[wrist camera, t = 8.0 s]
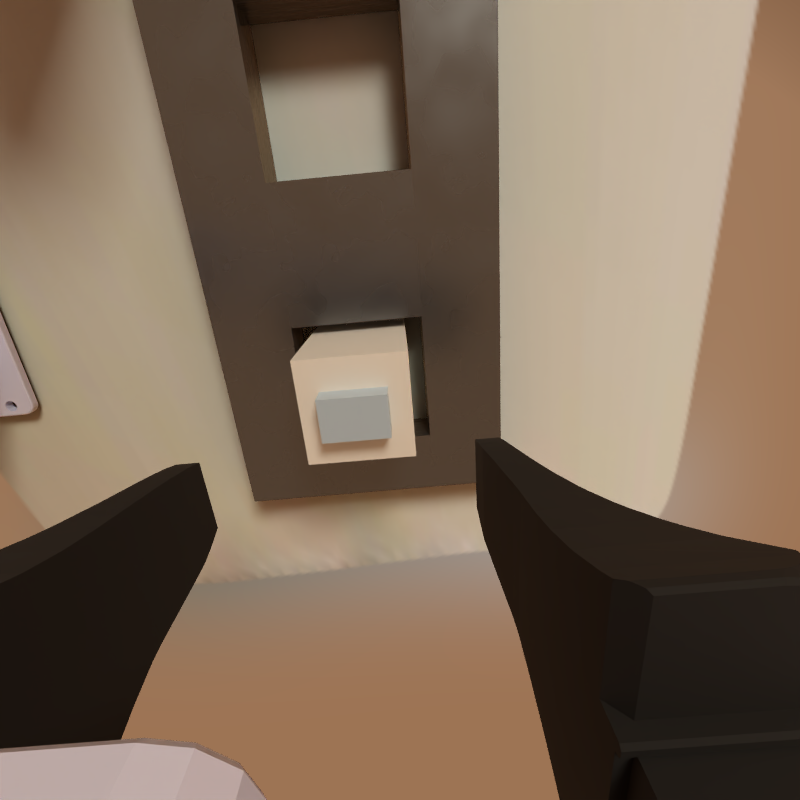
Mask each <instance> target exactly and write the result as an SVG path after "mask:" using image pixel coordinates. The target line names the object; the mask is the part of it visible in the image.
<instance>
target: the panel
mask: <svg viewBox="0 0 800 800" xmlns="http://www.w3.org/2000/svg"><path fill="white" fill-rule="evenodd" d="M133 4H134V8H135V12H136V16H137V20H138V24H139V28H140V32H141V37H142V41H143V45H144V49H145V53H146V57H147V61H148V65H149V69H150V73H151V78H152V82H153V86H154V90H155V94H156V98H157V102H158V106H159V110H160V114H161V119H162V123H163V127H164V131H165V135H166V139H167V143H168V147H169V151H170V156H171V160H172V164H173V168H174V172H175V176H176V180H177V184H178V188H179V192H180V197H181V201H182V205H183V209H184V213H185V217H186V221H187V225H188V229H189V233H190V238H191V242H192V246H193V250H194V254H195V258H196V262H197V266H198V270H199V274H200V279H201V283H202V287H203V291H204V295H205V299H206V303H207V307H208V311H209V315H210V320H211V324H212V328H213V332H214V336H215V340H216V344H217V348H218V352H219V356H220V361H221V365H222V369H223V373H224V377H225V381H226V385H227V389H228V393H229V397H230V402H231V406H232V410H233V414H234V418H235V422H236V426H237V430H238V434H239V438H240V443H241V447H242V451H243V455H244V459H245V463H246V467H247V471H248V475H249V480H250V484H251V488H252V492H253V496H254V500H255V501H266V500H278V499H290V498H301V497H313V496H325V495H337V494H349V493H361V492H372V491H384V490H396V489H408V488H420V487H432V486H443V485H455V484H467V483H476V458H475V439H486V438H497V437H499V438H501V431H500V274H499V117H498V0H133ZM391 10H398V22H399V36H400V50H401V64H402V78H403V92H404V106H405V120H406V133H407V147H408V161H409V169H404V170H394V171H384V172H373V173H363V174H353V175H342V176H332V177H322V178H311V179H301V180H291V181H280V182H277V179H276V173H275V167H274V161H273V155H272V149H271V144H270V138H269V132H268V126H267V120H266V114H265V108H264V102H263V97H262V91H261V85H260V79H259V73H258V67H257V61H256V55H255V49H254V44H253V38H252V32H251V26H250V25H255V24H265V23H274V22H284V21H294V20H303V19H313V18H323V17H332V16H342V15H352V14H361V13H371V12H381V11H391ZM409 317H420V328H421V342H422V356H423V370H424V384H425V398H426V411H427V418H422V419H413V420H414V433H415V445H416V456H411V457H399V458H386V459H374V460H362V461H350V462H338V463H326V464H313V465H309V463H308V458H307V452H306V447H305V441H304V436H303V430H302V425H301V419H300V414H299V408H298V403H297V397H296V391H295V386H294V380H293V375H292V369H291V364H290V360H291V359H292V358H293V357H294V355H295V354H296V353H297V352H298V350H299V349H300V348H301V347H302V345H303V344H304V338H303V332H302V327H310V326H321V325H332V324H343V323H354V322H365V321H376V320H387V319H398V318H409Z"/></svg>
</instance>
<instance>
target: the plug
mask: <svg viewBox="0 0 800 800" xmlns="http://www.w3.org/2000/svg"><path fill="white" fill-rule="evenodd" d="M290 364H291V369H292V375H293V380H294V386H295V391H296V397H297V403H298V408H299V414H300V419H301V425H302V430H303V436H304V441H305V447H306V452H307V458H308V463H309V465H313V464H326V463H338V462H350V461H362V460H374V459H386V458H399V457H411V456H416V445H415V433H414V420H413V408H412V395H411V383H410V370H409V358H408V347H407V339H406V332H405V324H404V318H403V319H391V320H380V321H369V322H357V323H346V324H334V325H323V326H318V327H317V328H316V329H315V331H314V332H313V333H312V334H311V336H310V337H309V338H308V339H307V340H306V342H305V343H304V344H303V345H302V347H301V348H300V349H299V350H298V352H297V353H296V354H295V355H294V357H293V358H292V359H291V360H290Z"/></svg>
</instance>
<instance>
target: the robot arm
mask: <svg viewBox="0 0 800 800" xmlns="http://www.w3.org/2000/svg"><path fill="white" fill-rule="evenodd" d="M12 402H14V403H15V404H16V405H17V407H15V406H14V405H13V403H12ZM37 408H38V402H37V399H36V397H35V395H34V392H33V390H32V387H31V385H30V383H29V380H28V378H27V375H26V373H25V370H24V368H23V366H22V363H21V361H20V358H19V356H18V354H17V351H16V349H15V346H14V344H13V341H12V339H11V337H10V334H9V332H8V329H7V327H6V325H5V322H4V320H3V317H2V315H1V312H0V417H5V416H16V415H27V414H30V413H32V412H34V411H35V410H37ZM475 458H476V494H477V509H478V514H479V518H480V523H481V527H482V531H483V536H484V540H485V542H486V545H487V548H488V551H489V553H490V556H491V559H492V562H493V564H494V567H495V570H496V572H497V575H498V578H499V580H500V583H501V586H502V588H503V591H504V594H505V596H506V599H507V602H508V604H509V607H510V609H511V612H512V615H513V618H514V621H515V624H516V627H517V630H518V633H519V637H520V640H521V644H522V648H523V652H524V655H525V659H526V663H527V667H528V671H529V675H530V679H531V682H532V687H533V691H534V695H535V699H536V703H537V707H538V710H539V714H540V718H541V722H542V727H543V731H544V735H545V739H546V743H547V748H548V751H549V755H550V760H551V764H552V769H553V773H554V776H555V781H556V785H557V790H558V794H559V798H560V800H800V553H799V552H798V551H796V550H792V549H787V548H782V547H777V546H772V545H767V544H761V543H756V542H751V541H746V540H741V539H735V538H731V537H726V536H721V535H717V534H713V533H709V532H706V531H701V530H698V529H694V528H690V527H686V526H683V525H679V524H676V523H672V522H669V521H665V520H662V519H659V518H656V517H653V516H650V515H647V514H645V513H642V512H639V511H636V510H633V509H630V508H627V507H625V506H622V505H620V504H617V503H615V502H612V501H610V500H608V499H605V498H603V497H601V496H599V495H596V494H594V493H592V492H589V491H587V490H585V489H583V488H581V487H579V486H577V485H575V484H574V483H572V482H570V481H568V480H566V479H564V478H563V477H561V476H559V475H557V474H555V473H554V472H552V471H550V470H549V469H547V468H545V467H544V466H542V465H540V464H539V463H537V462H536V461H534V460H533V459H531V458H530V457H528V456H527V455H525V454H524V453H522V452H521V451H519V450H518V449H516V448H515V447H513V446H512V445H510V444H509V443H507V442H506V441H504V440H502V439H501V438H499V437H497V438H486V439H475ZM217 529H218V527H217V524H216V520H215V517H214V513H213V510H212V506H211V503H210V499H209V496H208V492H207V489H206V485H205V482H204V478H203V474H202V471H201V467H200V464H199V463H192V464H180V465H174V466H172V467H169V468H166V469H164V470H162V471H160V472H158V473H155V474H153V475H151V476H149V477H147V478H146V479H144V480H142V481H140V482H138V483H136V484H134V485H132V486H130V487H128V488H126V489H125V490H123V491H121V492H119V493H117V494H115V495H113V496H111V497H110V498H108V499H106V500H104V501H102V502H100V503H98V504H96V505H94V506H92V507H90V508H88V509H86V510H84V511H82V512H80V513H78V514H76V515H74V516H72V517H70V518H68V519H66V520H64V521H62V522H61V523H59V524H57V525H55V526H52V527H50V528H48V529H46V530H44V531H42V532H40V533H37V534H36V535H33V536H31V537H29V538H26V539H24V540H22V541H19V542H17V543H15V544H12V545H10V546H8V547H5V548H3V549H1V550H0V800H267V799H266V797H265V796H264V794H263V793H262V791H261V790H260V789H259V787H258V786H257V785H256V783H255V782H254V781H253V780H252V778H251V777H250V776H249V775H248V773H247V772H246V771H245V770H244V768H243V767H242V766H241V764H240V763H238V762H237V761H234V760H232V759H230V758H228V757H226V756H224V755H222V754H219V753H217V752H215V751H213V750H211V749H208V748H206V747H204V746H202V745H200V744H198V743H193V742H182V741H172V740H161V739H151V738H137V739H125V740H121V738H122V735H123V732H124V730H125V727H126V725H127V722H128V720H129V717H130V714H131V712H132V709H133V707H134V704H135V702H136V699H137V697H138V695H139V692H140V690H141V688H142V685H143V683H144V680H145V678H146V676H147V673H148V671H149V669H150V666H151V664H152V661H153V660H154V658H155V656H156V654H157V652H158V650H159V648H160V646H161V644H162V642H163V640H164V638H165V636H166V634H167V632H168V631H169V629H170V627H171V625H172V623H173V621H174V620H175V618H176V616H177V614H178V612H179V611H180V609H181V607H182V605H183V603H184V601H185V600H186V598H187V596H188V594H189V592H190V590H191V589H192V587H193V585H194V583H195V581H196V579H197V577H198V575H199V574H200V572H201V570H202V568H203V566H204V564H205V562H206V559H207V557H208V554H209V552H210V549H211V546H212V543H213V540H214V537H215V535H216V532H217Z"/></svg>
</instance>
